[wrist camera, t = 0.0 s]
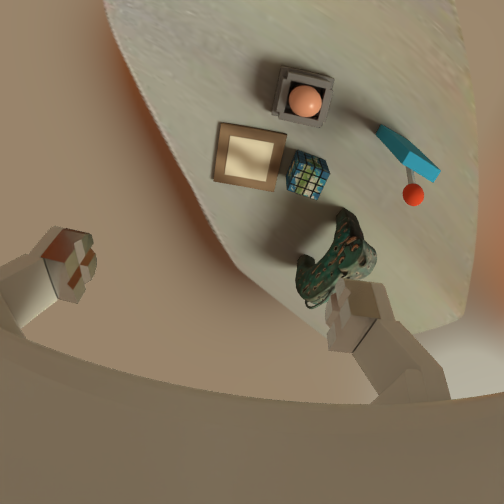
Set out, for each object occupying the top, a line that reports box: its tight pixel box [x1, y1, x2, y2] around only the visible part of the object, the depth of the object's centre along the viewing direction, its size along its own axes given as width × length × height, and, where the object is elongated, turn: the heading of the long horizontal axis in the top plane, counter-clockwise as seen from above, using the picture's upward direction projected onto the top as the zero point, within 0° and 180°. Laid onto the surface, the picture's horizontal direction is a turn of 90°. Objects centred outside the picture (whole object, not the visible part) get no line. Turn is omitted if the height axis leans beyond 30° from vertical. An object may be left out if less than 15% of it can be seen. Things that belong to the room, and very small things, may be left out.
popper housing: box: [272, 66, 334, 128], centre depth 46 cm, size 9×9×6 cm
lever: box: [375, 124, 441, 206], centre depth 46 cm, size 7×7×18 cm
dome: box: [288, 84, 322, 117], centre depth 43 cm, size 5×5×6 cm
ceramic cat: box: [295, 208, 377, 309], centre depth 59 cm, size 20×6×20 cm, turn 149°
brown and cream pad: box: [214, 123, 287, 192], centre depth 56 cm, size 12×12×1 cm
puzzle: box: [286, 150, 330, 200], centre depth 55 cm, size 6×6×6 cm
